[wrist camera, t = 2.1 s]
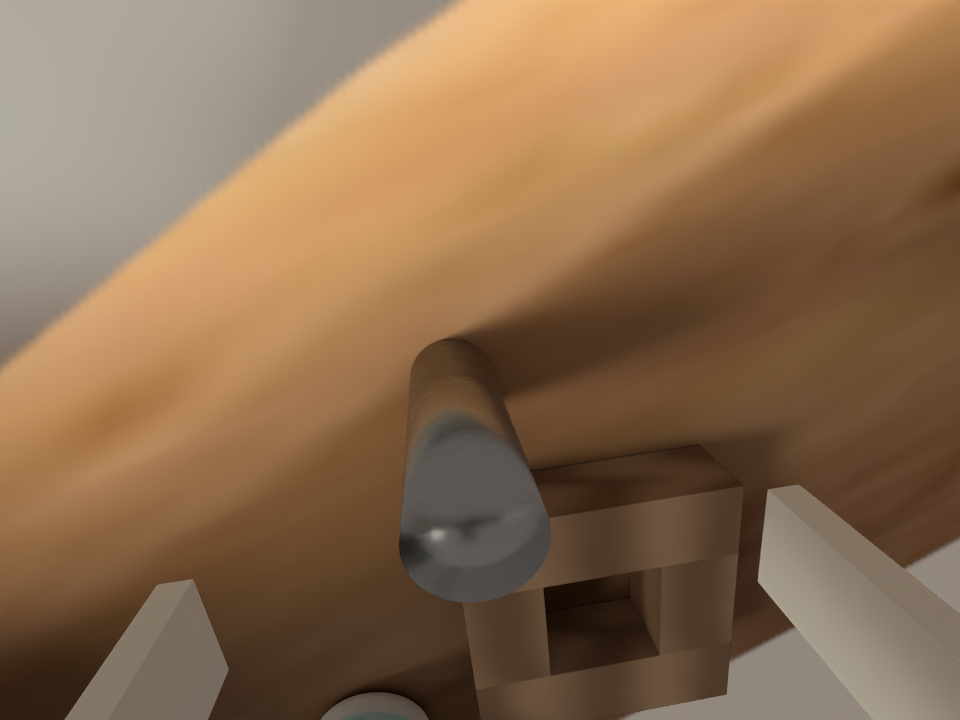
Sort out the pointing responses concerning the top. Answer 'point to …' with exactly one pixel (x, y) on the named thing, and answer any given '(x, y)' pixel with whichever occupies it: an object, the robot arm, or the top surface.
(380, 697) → the pill bottle
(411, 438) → the peg
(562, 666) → the socket block
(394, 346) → the top surface
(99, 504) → the top surface
